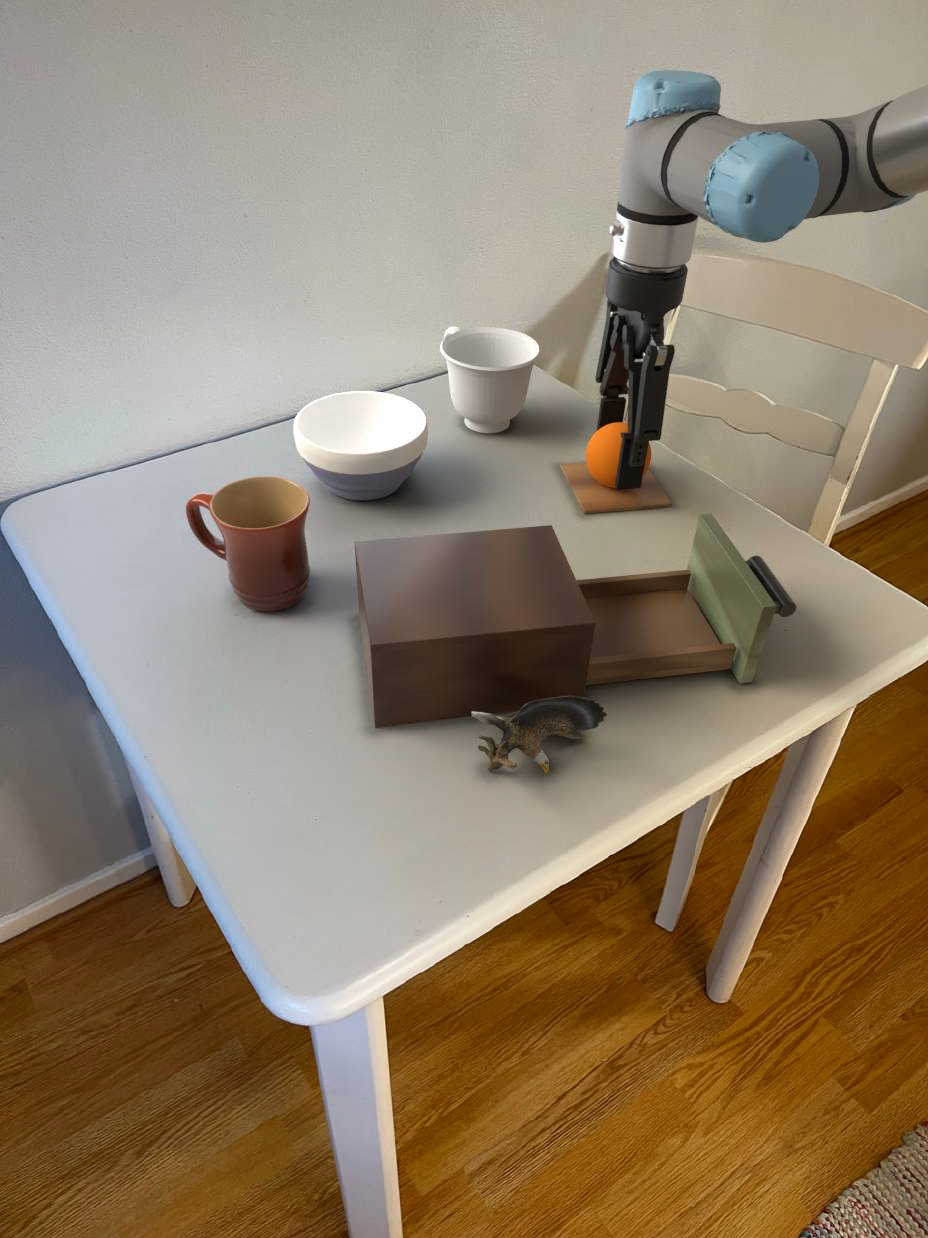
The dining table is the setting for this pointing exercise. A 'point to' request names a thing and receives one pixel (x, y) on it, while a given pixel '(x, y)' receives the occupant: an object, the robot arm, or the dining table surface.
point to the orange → (608, 453)
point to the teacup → (488, 374)
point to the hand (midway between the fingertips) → (616, 468)
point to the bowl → (361, 442)
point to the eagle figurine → (539, 727)
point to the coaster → (612, 492)
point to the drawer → (685, 614)
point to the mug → (258, 538)
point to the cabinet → (470, 623)
